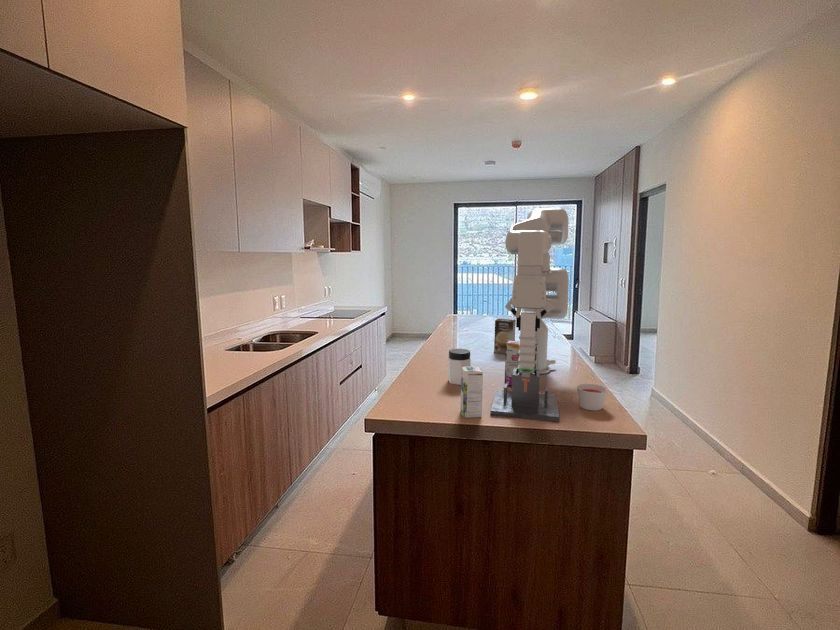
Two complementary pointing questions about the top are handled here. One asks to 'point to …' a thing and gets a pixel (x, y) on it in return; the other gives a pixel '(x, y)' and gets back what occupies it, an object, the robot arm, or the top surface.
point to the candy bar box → (514, 359)
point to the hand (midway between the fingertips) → (527, 329)
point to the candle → (591, 396)
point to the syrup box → (471, 391)
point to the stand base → (525, 399)
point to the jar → (457, 364)
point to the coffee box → (503, 334)
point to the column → (527, 343)
